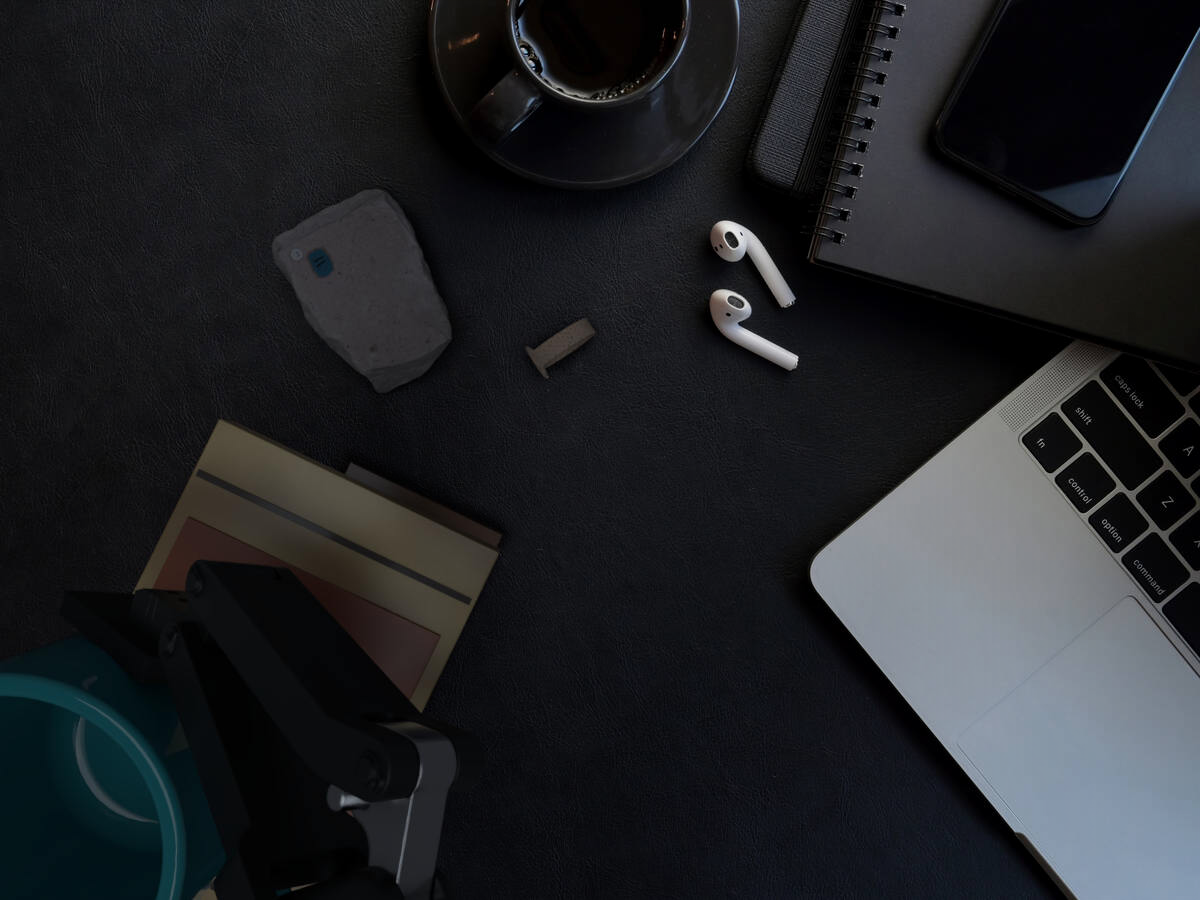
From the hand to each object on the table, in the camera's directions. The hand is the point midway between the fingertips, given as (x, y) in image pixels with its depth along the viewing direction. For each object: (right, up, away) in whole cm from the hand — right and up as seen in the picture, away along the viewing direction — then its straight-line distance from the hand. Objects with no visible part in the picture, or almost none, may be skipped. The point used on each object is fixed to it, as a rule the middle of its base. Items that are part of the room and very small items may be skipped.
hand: (69, 753), depth 30 cm
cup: (+3, -2, +5) cm, 5 cm away
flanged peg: (+14, +17, +39) cm, 45 cm away
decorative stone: (+1, +21, +38) cm, 43 cm away
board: (+2, -1, +11) cm, 11 cm away
